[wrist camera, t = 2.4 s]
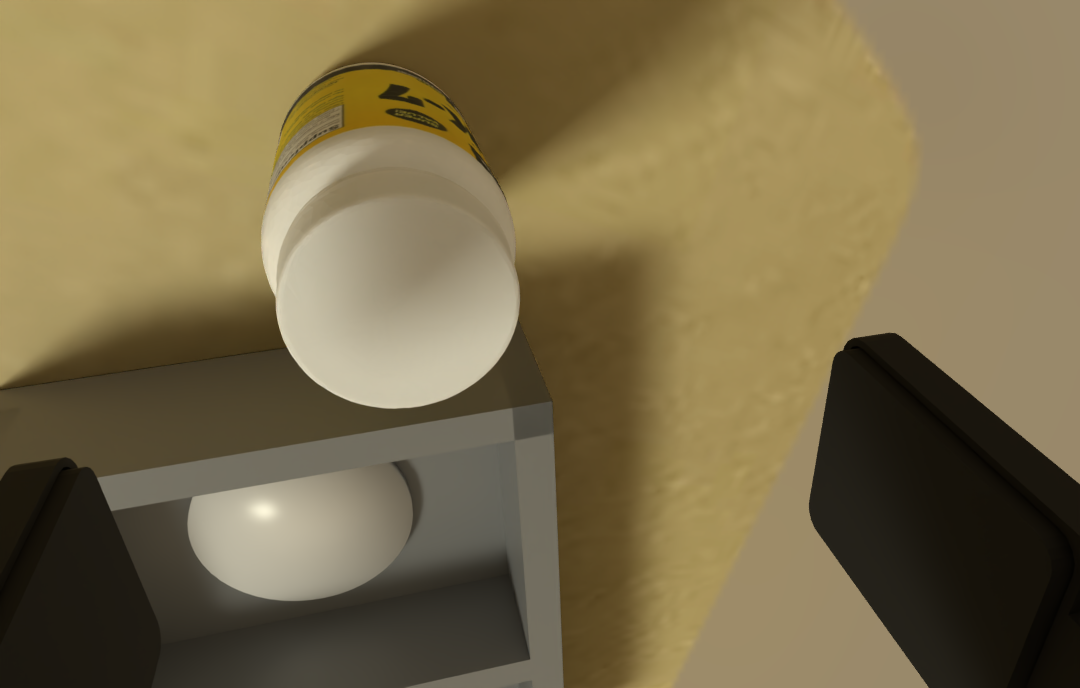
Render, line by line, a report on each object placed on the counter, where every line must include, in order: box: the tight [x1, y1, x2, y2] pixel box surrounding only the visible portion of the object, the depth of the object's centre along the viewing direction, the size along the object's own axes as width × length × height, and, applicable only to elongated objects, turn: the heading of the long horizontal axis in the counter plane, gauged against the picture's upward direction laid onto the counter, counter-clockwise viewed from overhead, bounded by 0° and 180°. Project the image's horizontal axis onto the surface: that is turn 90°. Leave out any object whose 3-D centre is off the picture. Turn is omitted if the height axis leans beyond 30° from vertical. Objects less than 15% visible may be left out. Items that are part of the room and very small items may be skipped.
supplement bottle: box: [261, 62, 520, 409], centre depth 17 cm, size 5×5×8 cm
